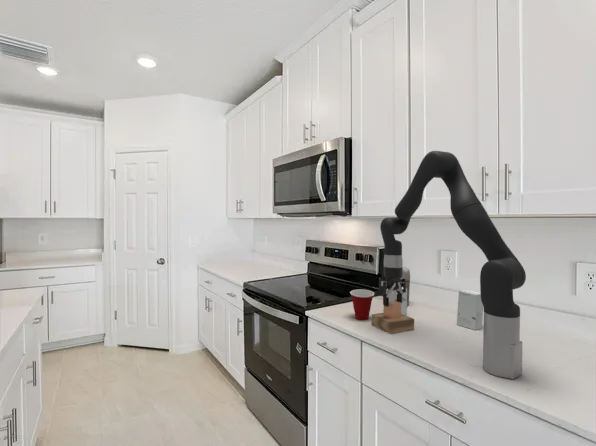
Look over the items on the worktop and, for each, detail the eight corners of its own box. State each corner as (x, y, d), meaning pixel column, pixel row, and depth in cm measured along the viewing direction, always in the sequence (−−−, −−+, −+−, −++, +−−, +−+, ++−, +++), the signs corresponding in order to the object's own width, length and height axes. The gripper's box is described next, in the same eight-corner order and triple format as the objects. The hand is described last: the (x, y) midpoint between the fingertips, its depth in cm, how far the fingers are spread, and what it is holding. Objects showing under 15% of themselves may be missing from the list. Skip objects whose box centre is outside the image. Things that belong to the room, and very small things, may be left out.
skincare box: (456, 325, 142) (456, 290, 141) (464, 322, 145) (464, 288, 145) (476, 330, 134) (476, 294, 134) (484, 328, 138) (484, 292, 138)
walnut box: (414, 331, 135) (414, 318, 135) (390, 335, 130) (390, 322, 130) (394, 322, 146) (394, 311, 146) (371, 326, 141) (371, 314, 141)
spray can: (398, 301, 181) (398, 265, 180) (412, 304, 175) (412, 266, 174) (389, 304, 175) (390, 266, 175) (404, 307, 169) (404, 268, 169)
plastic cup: (351, 321, 145) (351, 294, 145) (348, 314, 156) (349, 289, 156) (376, 322, 144) (376, 294, 144) (372, 315, 155) (372, 289, 155)
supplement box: (393, 316, 153) (393, 289, 153) (385, 312, 161) (385, 286, 160) (407, 315, 155) (407, 288, 155) (398, 311, 163) (398, 285, 162)
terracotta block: (401, 316, 137) (401, 302, 137) (393, 319, 134) (393, 304, 134) (391, 314, 141) (391, 300, 141) (383, 316, 138) (383, 301, 138)
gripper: (389, 268, 130) (389, 309, 130) (411, 265, 139) (411, 304, 139) (374, 266, 136) (374, 305, 136) (396, 263, 145) (396, 300, 145)
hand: (392, 304), depth 138 cm, fingers open, 8 cm apart
